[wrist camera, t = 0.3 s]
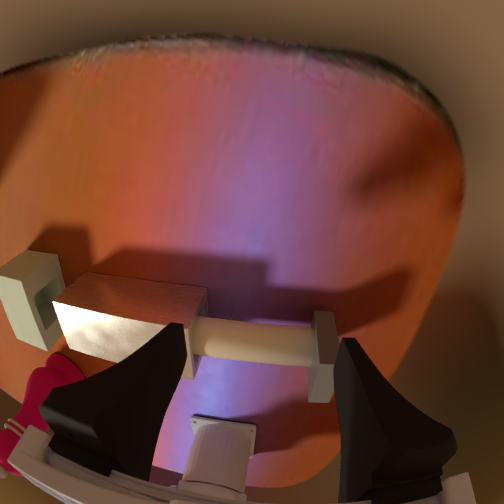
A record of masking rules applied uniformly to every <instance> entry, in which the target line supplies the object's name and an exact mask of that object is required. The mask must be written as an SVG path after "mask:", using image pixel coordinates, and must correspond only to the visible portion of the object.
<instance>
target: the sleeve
mask: <svg viewBox="0 0 504 504" xmlns="http://www.w3.org/2000/svg"><path fill="white" fill-rule="evenodd" d="M53 304H54V308H55V311H56V313H57V316H58V319H59V322H60V325H61V328H62V330H63V333H64V336H65V338H66V341H67V343H68V346H69V348H70V349H73V350H76V351H79V352H82V353H85V354H88V355H92V356H95V357H98V358H102V359H105V360H109V361H112V362H116V363H119V362H120V361H122V360H123V359H125V358H126V357H128V356H129V355H131V354H132V353H133V352H135V351H136V350H138V349H139V348H140V347H142V346H143V345H144V344H145V343H146V342H148V341H149V340H150V339H151V338H153V337H154V336H155V335H156V334H157V333H159V332H160V331H161V330H162V329H163V328H164V327H166V326H167V325H168V324H169V323H170V322H174V323H181V324H183V325H184V333H185V341H186V348H187V355H188V356H187V360H186V363H185V367H184V370H183V374H182V376H181V378H187V379H192V380H194V378H195V375H196V372H197V370H198V367H199V364H200V361H201V358H202V355H196V354H193V346H192V336H191V329H192V327H193V325H194V323H195V320H196V318H197V316H202V317H208V295H207V287H199V286H190V285H181V284H173V283H165V282H157V281H150V280H142V279H135V278H128V277H121V276H114V275H107V274H100V273H94V272H87V271H86V272H85V273H84V274H82V275H81V276H80V277H79V278H78V279H77V280H76V281H74V282H73V283H72V284H71V285H70V286H69V287H68V288H67V289H65V290H64V291H63V292H62V293H61V294H60V295H59V296H58V297H57V298H56V299H54V300H53Z"/></svg>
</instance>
